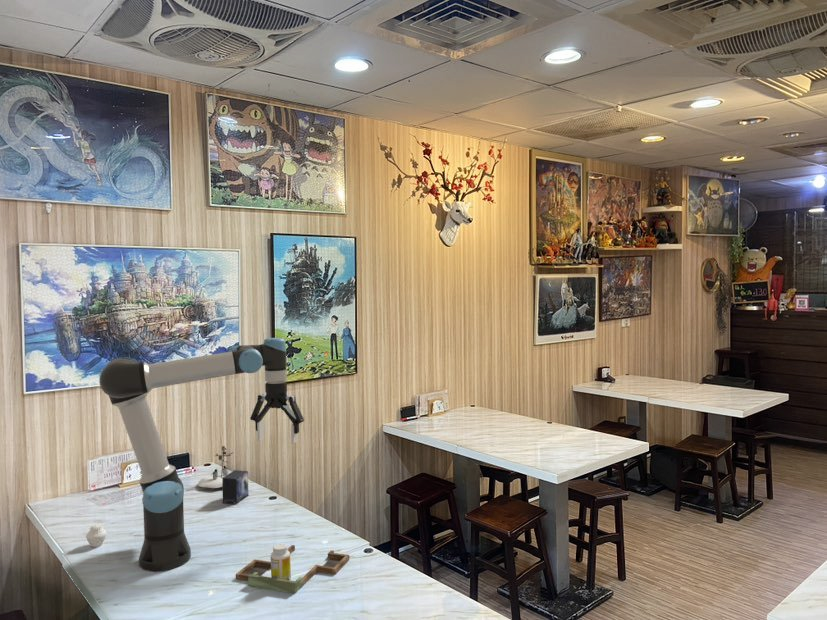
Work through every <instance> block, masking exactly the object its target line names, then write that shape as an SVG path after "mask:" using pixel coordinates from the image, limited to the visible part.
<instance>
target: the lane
mask: <svg viewBox="0 0 827 620" xmlns="http://www.w3.org/2000/svg"><path fill="white" fill-rule="evenodd" d="M287 550H288V551H289V552H290V555H291V554H292V553H293V552H294V551H295V550H296V546H295V545H294V544H291V545H290V546H289V547H287ZM327 559H328V560H327V561H326V562H324V564H323V565H318V564H315V565H314V566H313V567H312V568H311V569H310V570H308V572H307V573H306V574H305V575H304V576H302V577H301V576H299V577H298V578H296V580H291V579H290V580H284V579H278V578H271V577H268V576H263V575H264V574H265V573H266V572H267V571H268V570H271V561H266V560H260V559H253V560H252V561H250V562H249V563H248V564H247V565H245V567H243V568H242V569H240V570H239V571H238V572H236V573H235V580H239V581H246V582H248V587H252V588H259V589H264V590H271V591H277V592H283V593H288V594H297V592H299V591H300V590H301V588H302V587H304V586H305V585H306V583H308V581H310V580H311V579H312V578H313V577H314V576H315V574H317V573H323V574H329V575H336V574H337V573H338V572H339V571H340V570H341V569H342V568H343V567H344V566H345V565H346V564H348V562H349V561H350V554H345V553H336V552H335V551H334V550H332V549H331V550H330V551H329V552H328V553H327Z"/></svg>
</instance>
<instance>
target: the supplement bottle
mask: <svg viewBox="0 0 827 620" xmlns="http://www.w3.org/2000/svg"><path fill="white" fill-rule="evenodd" d="M287 549H288V545H287V544H286V543H277V544H275V545H273V548H272V553H271V554H270V562H271V568H270V571H271V572H270V576H271V578H278V579H284V580H291V578H292V574H291V570H292V569H291V567H292V566H291V554H290V552H289V551H288V550H287Z"/></svg>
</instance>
